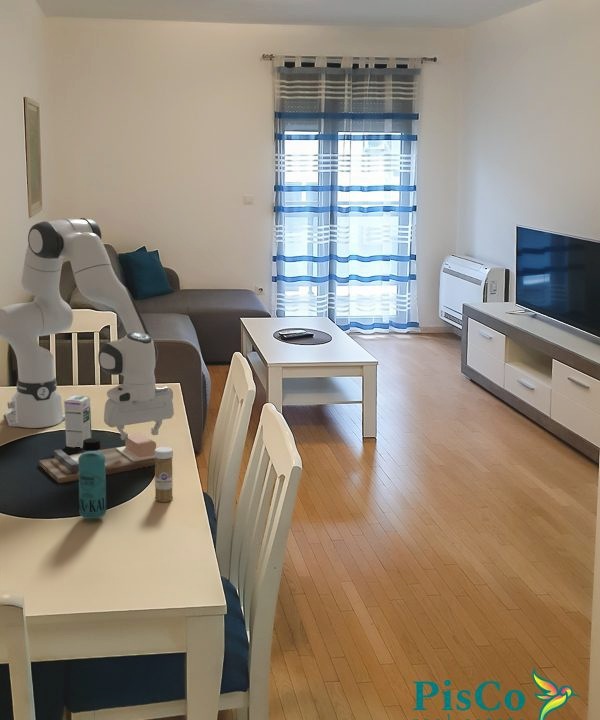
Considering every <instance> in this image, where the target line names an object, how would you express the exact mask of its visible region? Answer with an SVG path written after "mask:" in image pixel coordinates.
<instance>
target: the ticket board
mask: <svg viewBox="0 0 600 720" xmlns="http://www.w3.org/2000/svg"><path fill="white" fill-rule="evenodd" d="M125 446H126V445H123V446H121V447H125ZM119 447H120V446H118V447H116V446H115V447H112V448H105V449H99V450H97V451H98V452H100V453H102V454H103V455H104V456H105V476H106V475H107V476H108V475H111V474H116V473H122V472H124V473H125V472H128V471H129V472H130V471H133V470H139V469H138V468H140V469H143V468H142V467H145V468H149V467H148V466H151V467H154V466H153V465H155V458H151V459H146V460H140V461H135V462H133V461H131V460H130V459H129V458H127V457H126V456H124V455H123V454H121V453H120V452H119V451H117V450H116V448H119ZM83 453H84V452H82V453H81V452H80V453H75V454H70V455H68V454H67V453H66V452H65V451H63V450H62V449H55V450H53V457H52V458H46V459H40V460H38V466H39V465H40V466H41V467H42V468H43V469H44V470H45V472H46V474H47V475H48V476H50V478H52V479H53V480H54V481H55V482H56V483H58V484H64V483H68V482H74V481H78V480H79V479H78V478H79V461H78V458H79V457H80V455H82V454H83ZM40 466H39V467H40ZM41 467H40V468H41ZM42 468H41V469H42ZM43 469H42V470H43ZM132 469H133V470H132ZM44 470H43V471H44Z"/></svg>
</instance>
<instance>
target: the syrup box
mask: <svg viewBox="0 0 600 720" xmlns="http://www.w3.org/2000/svg"><path fill="white" fill-rule="evenodd" d="M63 403H64V404H63V407H64V414H65V419H64V424H65V443H66V447H69V448H75V447H80V448H79V449H83V441H84V440H85V439H88V438H93V436H92V419H91V418H92V416H91V415H92V414H91V397H90V396H87V395H72V396H70V397H69V398H67V399H65V400H63Z"/></svg>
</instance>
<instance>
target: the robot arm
mask: <svg viewBox="0 0 600 720" xmlns="http://www.w3.org/2000/svg"><path fill="white" fill-rule="evenodd" d="M27 235H28V236H27V242H28V244H27V248H26V252H25V256H24V260H23V262H24V263H23V269H22V276H21V284H22V287H23V289H24V290H25V291H26V292H27V293H28V294H30V295H32V296H34V298H33V300H32V301H31V302H24V303H23V302H22V303H13V304H9V305H6V306H3V307H0V338H1V339H3V340H5V341H6V342H7V343H8V344H9V345H10V346H11V348H12V351H14V355H15V357H16V361H17V362H16V363H17V375H18V379H17V381H16V392H15V393H14V394H13V396H12V397H11V400H10V401H7V409H9V410H6V411H4V416H5V419H6V422H7V424H8V427H19V428H26V429H27V428H28V429H37V428H47V427H48V428H49V427H52V426H55V425H58V424H61V422H62V421H65V412H63V402H62V394H61V393H60V392H58V391H57V385H58V384H57V382H58V381H57V378H56V376H55V358H54V355H53V353H52V352H51V351H50V350H49V349H47V348H44V347H42V346H40V345H39V340H38V337H44V336H50V335H51V336H52V335H57V334H60V333H63V332H65V331H68V330H69V329H70V328H71V326H72V324H73V323H74V322H73V321H74V313H73V312H74V311H73V309H72V307H71V306H70V304H68V303H67V301H65V300H64V299H63V298H62V296H61V292H60V281H61V276H62V274H61V273H62V267H63V262H64V261H63V260H64V258H67V259H68V261H69V262H70V265H71V270H72V274H73V277H74V281H75V284H76V287H77V290H79V293H80V294H81V295H82V296H83V297H84V298H86V299H88V300H89V301H91V302H95V303H99V304H102V305H104V306H107V307H109V308H112V309H113V310H114V311H115V312H116V313H117V315H118V317H119V318H120V320H121V323H122V325H123V328H124V330H125V332H126V335H125V336H124V337H121V338H120V339H117V340H113V341H109V342H106V343H103V344H102V345H101V346H100V348H99V351H98V356H97V360H98V365H99V367H100V369H101V370H102V371H103V372H104V373H105V374H107V375H111V376H112V375H113V376H116V375H121V376H123V382H122V383H121V384H119V385H117V386H115V387H112V388H109V389H108V390H107V392H106V396H107V397H108V399H107V400H106V402H105V404H104V412H103V413H104V415H103V420H104V424H105V425H106V426H108V427H109V428H115V427H116V429H117V431H118V432H119V433H120V439H121V440H122V441H125V440H127V439H128V436H129V434H128V433H127V432H124V430H125V426H129V425H137V424H142V423H151V422H155V424H154V425H153V426H154V427H151V429H150V431H151V432H150V433H151V435H152V436H158V435H159V429H160V428H161V426H162V425H163V420H170V419H172V418H173V416H174V415H175V412H174V411H175V409H174V402H173V399H174V391H173V389H171V388H170V387H168V386H164V387H156V377H155V368H156V362H157V360H158V356H159V350H158V346H157V344H156V343H155V340H154V339H153V337H152V336H151V334H150V333H149V331H148V328H147V327H146V324H145V322H144V320H143V318H142V315H141V313H140V311H139V309H138V307H137V304H136V302H135V300H134V298H133V296H132V293H131V292H130V291H129V289H128V287H127V286H125V285H124V284H122V282H121V281H120V280H119V278H118V277H117V275H116V273H115V271H114V269H113V266H112V263H111V259H110V256H109V254H108V252H107V249H106V247H105V245H104V242H103V241H102V231H101V229H100V227H99V225H98V223H97V222H96V221H95V220H93V219H91V218H86V217H85V218H83V217H80V218H61V219H53V220H50V221H41V222H37V223H35V224H33V225H32V226H31V227H30V229H29V232H28V234H27Z"/></svg>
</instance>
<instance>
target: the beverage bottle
mask: <svg viewBox="0 0 600 720" xmlns="http://www.w3.org/2000/svg"><path fill="white" fill-rule="evenodd" d="M101 447H102V446H101V440H100V438H96V437H92V438H88V439H85V440H84V441H83V448H82V450H83V451H84V452H82V453H83V454H82V455H80V457H79V458H78V461H79V478H78V479H79V480H77V481H78V511H79V515H80V517H82V518H86V519H97V518H101V517H103V516H104V515H106V512H107V507H108V506H107V480H106V479H107V478H106V475H105V456H104V455H103V454H102V453H100V452H98V450H101Z"/></svg>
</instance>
